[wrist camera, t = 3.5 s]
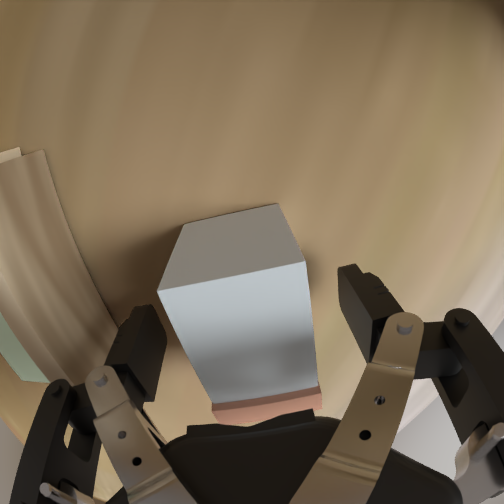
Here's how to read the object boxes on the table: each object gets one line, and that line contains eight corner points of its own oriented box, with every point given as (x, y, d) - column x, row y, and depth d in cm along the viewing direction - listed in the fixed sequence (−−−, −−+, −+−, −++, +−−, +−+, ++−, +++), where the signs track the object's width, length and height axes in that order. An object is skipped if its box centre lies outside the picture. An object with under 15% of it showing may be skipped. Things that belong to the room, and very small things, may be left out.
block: (279, 203, 12) (310, 267, 7) (299, 329, 15) (322, 413, 10) (183, 224, 12) (152, 298, 7) (224, 344, 15) (223, 430, 10)
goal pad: (36, 225, 11) (33, 227, 11) (122, 380, 16) (121, 383, 16) (-47, 265, 12) (-50, 267, 11) (23, 378, 17) (22, 380, 16)
